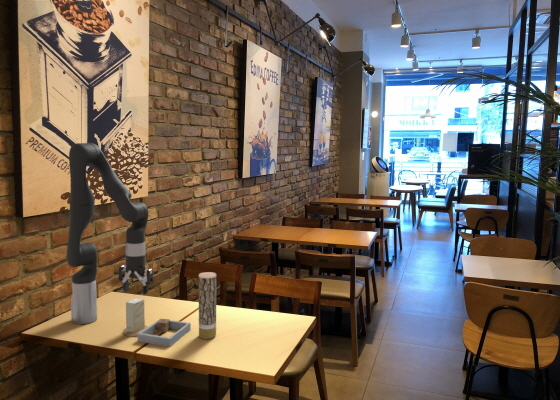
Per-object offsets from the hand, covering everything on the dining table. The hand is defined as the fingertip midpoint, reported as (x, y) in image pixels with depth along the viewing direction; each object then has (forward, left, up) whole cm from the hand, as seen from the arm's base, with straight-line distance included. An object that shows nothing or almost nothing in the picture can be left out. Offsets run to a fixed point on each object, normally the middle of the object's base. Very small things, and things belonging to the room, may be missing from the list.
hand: (135, 292), depth 177 cm
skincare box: (0, 0, -16) cm, 16 cm away
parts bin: (+13, 0, -16) cm, 21 cm away
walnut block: (+10, +4, -16) cm, 19 cm away
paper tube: (+29, +5, -16) cm, 34 cm away
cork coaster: (0, 0, -16) cm, 16 cm away
